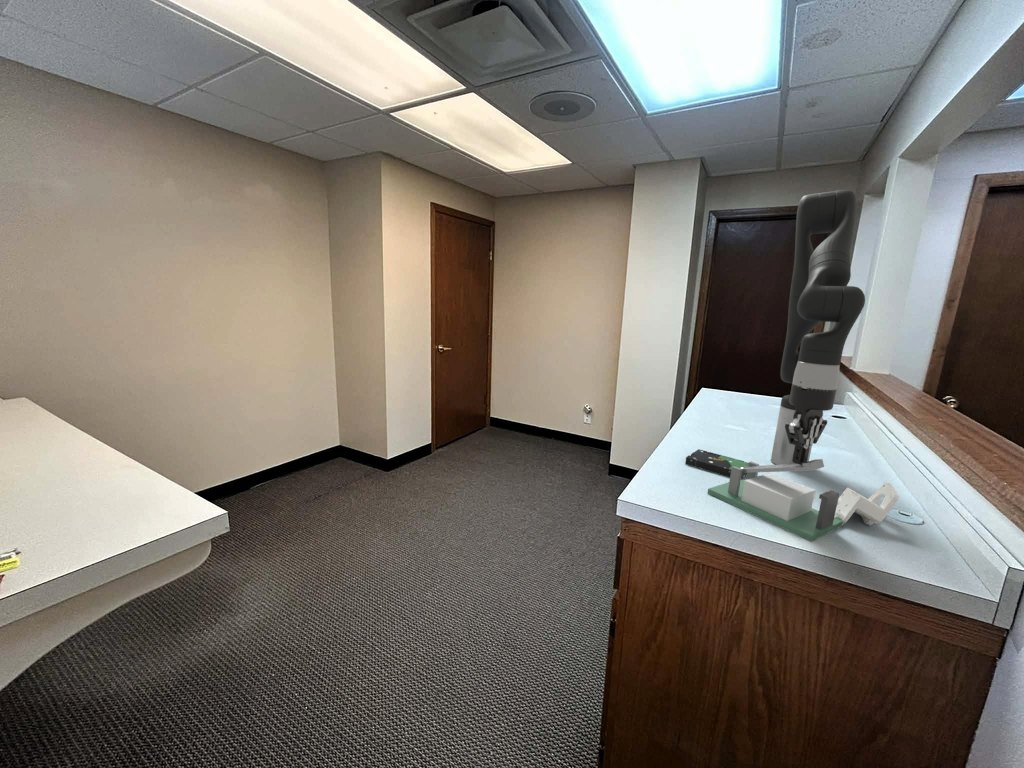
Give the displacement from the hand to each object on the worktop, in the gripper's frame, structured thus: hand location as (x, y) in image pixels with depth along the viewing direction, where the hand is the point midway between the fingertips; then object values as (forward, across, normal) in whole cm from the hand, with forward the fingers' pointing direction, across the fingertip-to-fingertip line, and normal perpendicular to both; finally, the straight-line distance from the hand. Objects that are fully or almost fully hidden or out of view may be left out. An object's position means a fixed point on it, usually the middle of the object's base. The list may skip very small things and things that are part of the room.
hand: (799, 463), depth 89 cm
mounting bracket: (+13, -14, +8) cm, 20 cm away
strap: (+3, 0, -4) cm, 5 cm away
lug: (+11, 0, +6) cm, 13 cm away
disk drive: (+13, -12, -25) cm, 31 cm away
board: (+13, 0, -4) cm, 13 cm away
